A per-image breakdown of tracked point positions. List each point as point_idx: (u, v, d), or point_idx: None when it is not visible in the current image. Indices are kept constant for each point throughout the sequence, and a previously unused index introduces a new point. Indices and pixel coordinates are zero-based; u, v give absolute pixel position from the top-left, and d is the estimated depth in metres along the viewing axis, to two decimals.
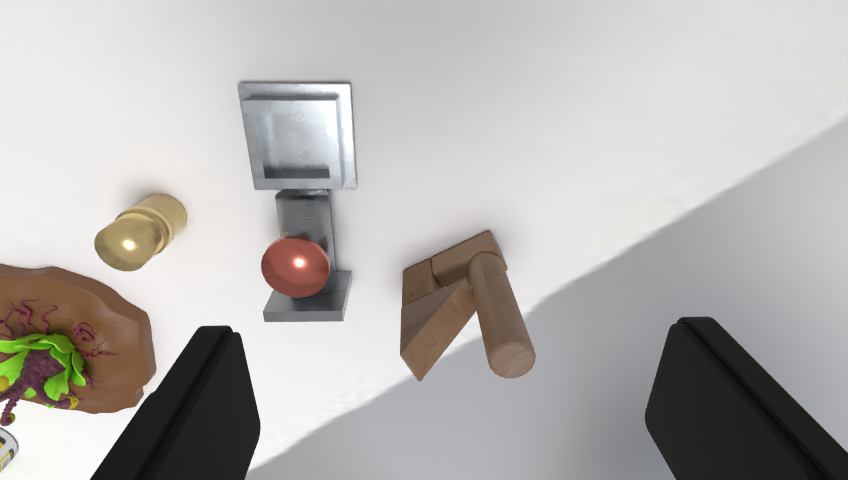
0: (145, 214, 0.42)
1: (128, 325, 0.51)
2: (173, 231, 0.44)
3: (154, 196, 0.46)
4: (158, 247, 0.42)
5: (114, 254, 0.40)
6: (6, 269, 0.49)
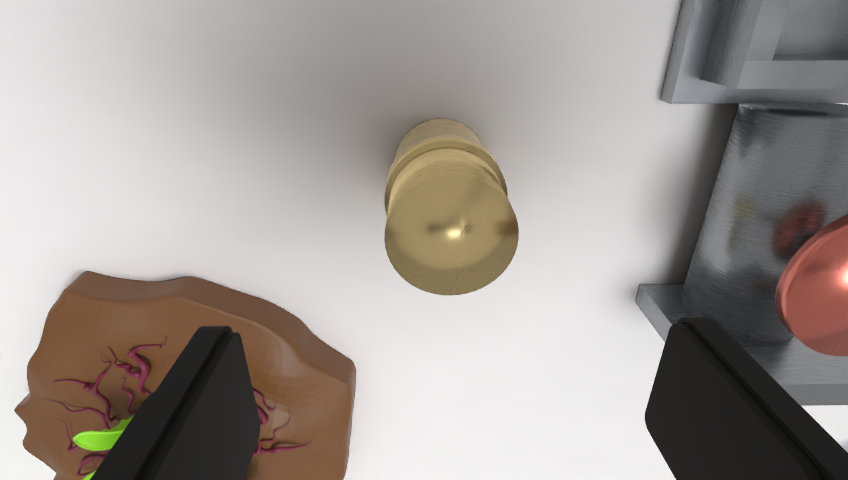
0: (472, 152, 0.17)
1: (331, 391, 0.26)
2: None
3: (438, 122, 0.20)
4: None
5: (430, 251, 0.15)
6: (100, 282, 0.24)
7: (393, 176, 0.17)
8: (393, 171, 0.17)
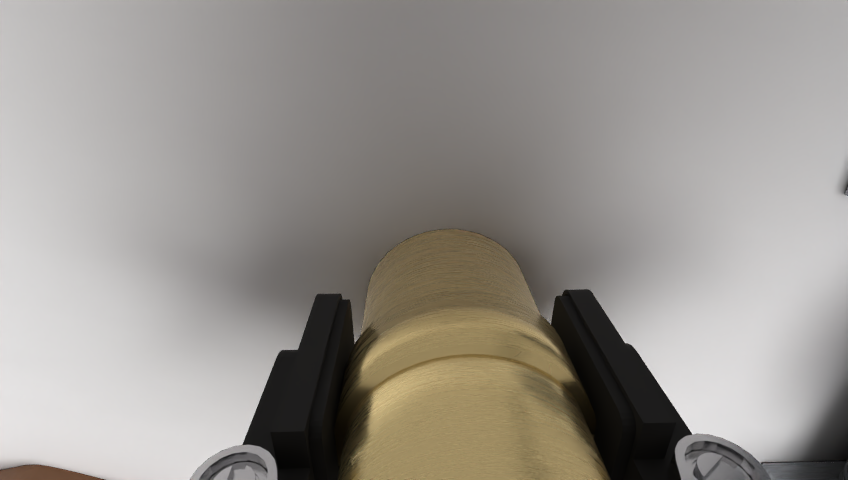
0: (527, 362, 0.07)
1: None
2: None
3: (444, 242, 0.11)
4: None
5: None
6: None
7: (349, 407, 0.08)
8: (349, 397, 0.08)
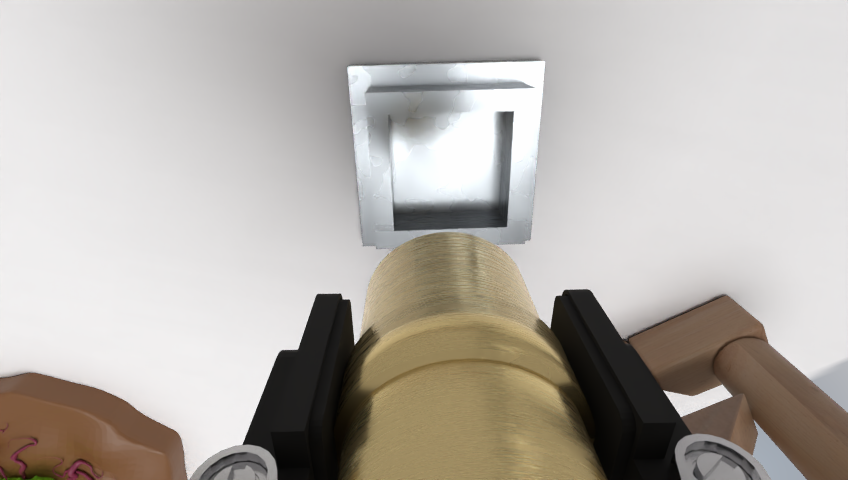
0: (526, 367, 0.07)
1: (150, 459, 0.32)
2: None
3: (443, 245, 0.11)
4: None
5: None
6: None
7: (348, 411, 0.08)
8: (348, 401, 0.08)
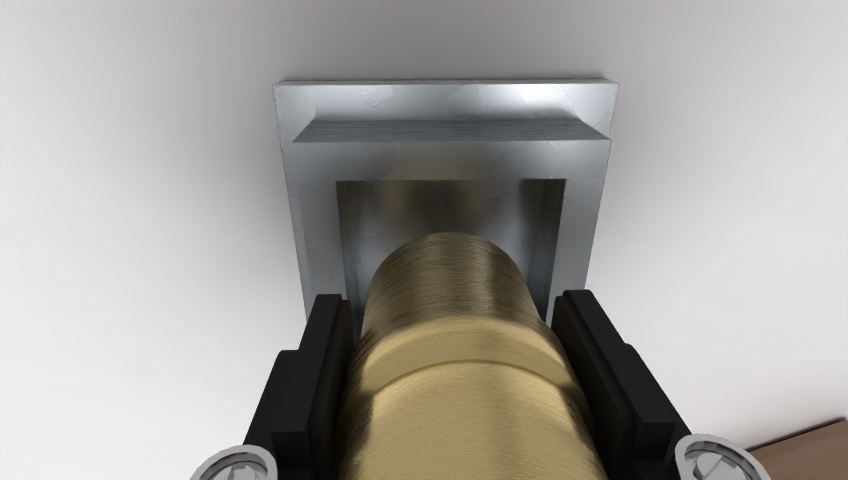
0: (527, 367, 0.08)
1: None
2: None
3: (444, 245, 0.11)
4: None
5: None
6: None
7: (349, 412, 0.08)
8: (349, 402, 0.08)
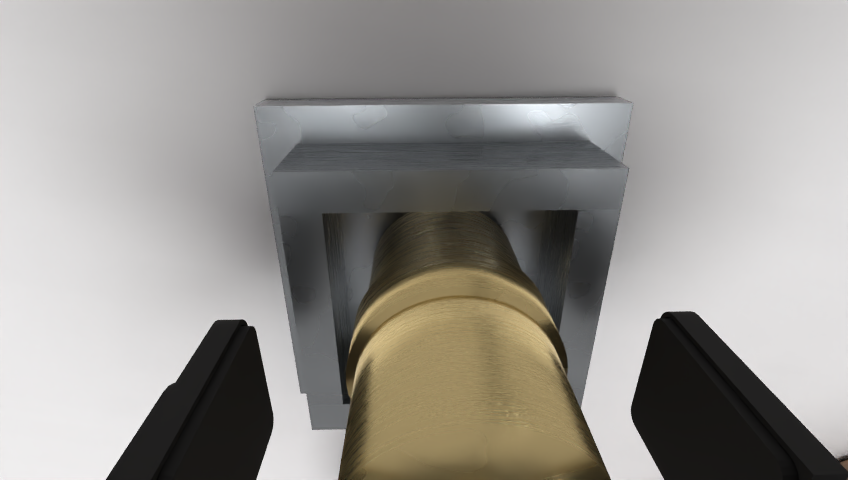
0: (508, 303, 0.09)
1: None
2: None
3: (440, 214, 0.13)
4: None
5: None
6: None
7: (360, 342, 0.09)
8: (360, 334, 0.09)
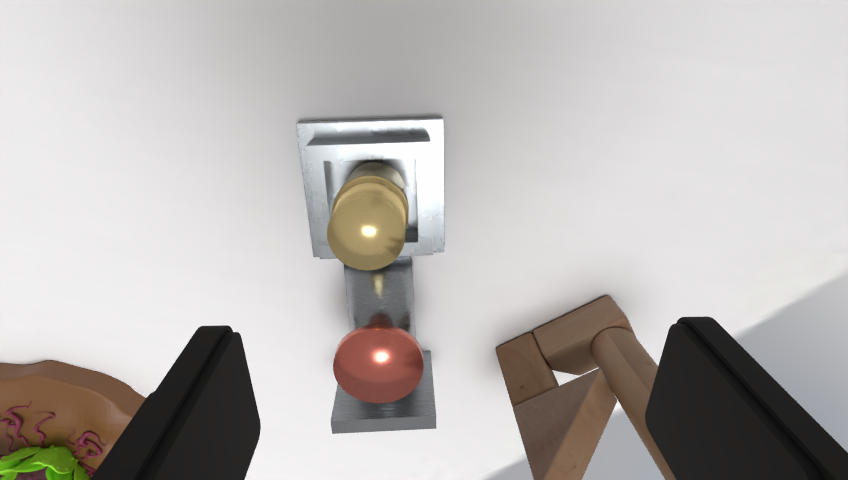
0: (384, 184, 0.28)
1: None
2: None
3: (370, 165, 0.31)
4: None
5: (354, 243, 0.26)
6: None
7: (336, 200, 0.28)
8: (336, 197, 0.28)
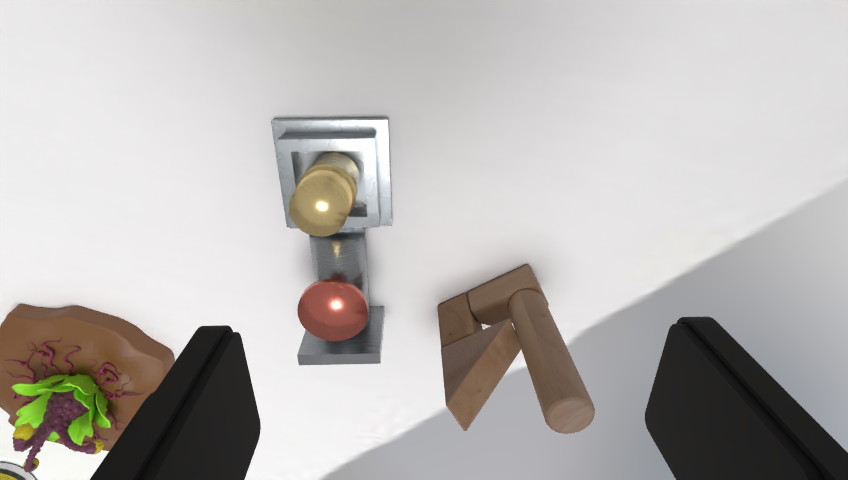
0: (335, 171, 0.36)
1: (152, 364, 0.49)
2: None
3: (330, 154, 0.40)
4: None
5: (309, 215, 0.35)
6: (28, 309, 0.47)
7: (299, 182, 0.37)
8: (299, 180, 0.37)
